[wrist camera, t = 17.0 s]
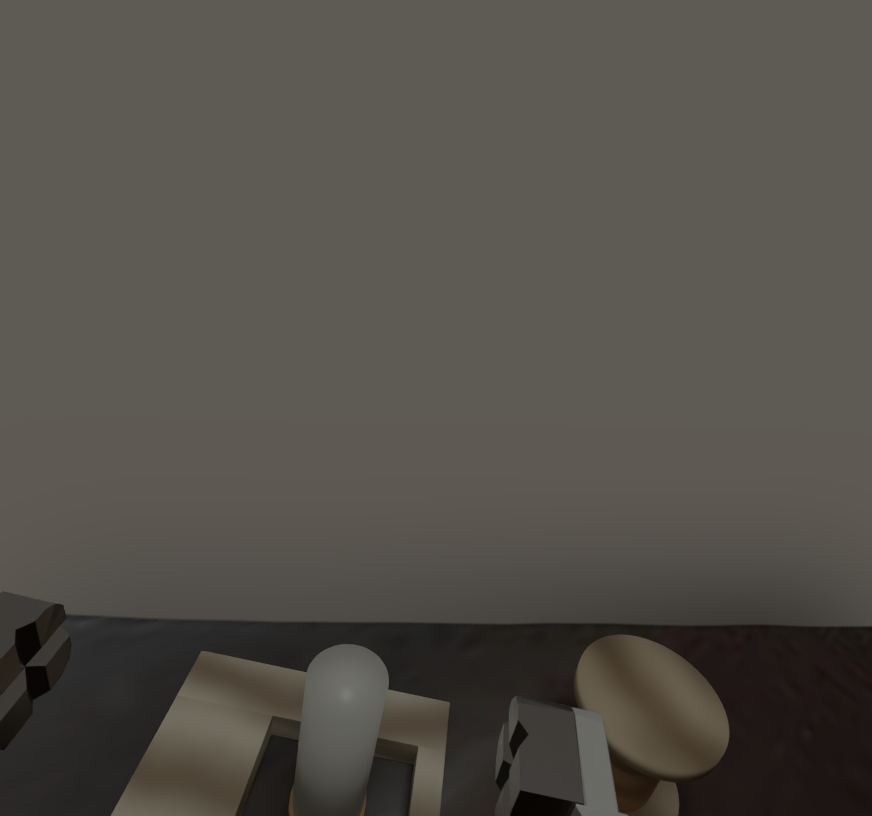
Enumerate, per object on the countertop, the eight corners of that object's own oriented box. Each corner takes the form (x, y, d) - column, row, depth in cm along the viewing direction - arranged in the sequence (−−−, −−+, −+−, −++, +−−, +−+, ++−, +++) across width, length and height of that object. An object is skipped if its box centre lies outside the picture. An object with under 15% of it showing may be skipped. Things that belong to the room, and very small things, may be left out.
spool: (594, 697, 46) (632, 615, 41) (698, 802, 40) (756, 719, 36) (513, 760, 40) (548, 672, 36) (620, 892, 34) (677, 806, 30)
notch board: (202, 669, 42) (201, 650, 41) (444, 720, 42) (449, 702, 41) (99, 862, 31) (96, 842, 30) (424, 931, 31) (430, 913, 30)
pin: (337, 771, 37) (361, 629, 31) (375, 835, 35) (409, 692, 29) (274, 812, 35) (286, 665, 29) (308, 883, 32) (330, 738, 26)
